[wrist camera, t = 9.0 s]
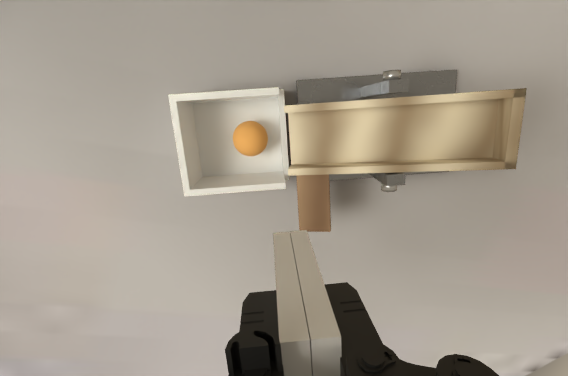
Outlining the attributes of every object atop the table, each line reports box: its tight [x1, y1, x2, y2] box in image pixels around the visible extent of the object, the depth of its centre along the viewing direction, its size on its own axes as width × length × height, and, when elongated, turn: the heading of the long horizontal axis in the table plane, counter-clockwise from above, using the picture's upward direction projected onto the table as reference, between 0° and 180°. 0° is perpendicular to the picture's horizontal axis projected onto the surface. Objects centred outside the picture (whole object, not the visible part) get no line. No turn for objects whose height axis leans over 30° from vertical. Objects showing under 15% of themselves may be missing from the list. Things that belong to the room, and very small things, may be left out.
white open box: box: [168, 87, 290, 196], centre depth 30 cm, size 9×10×6 cm
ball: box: [233, 121, 268, 156], centre depth 31 cm, size 4×4×4 cm
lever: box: [284, 88, 526, 232], centre depth 26 cm, size 18×12×3 cm, turn 94°
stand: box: [296, 70, 457, 192], centre depth 29 cm, size 17×11×8 cm, turn 94°
